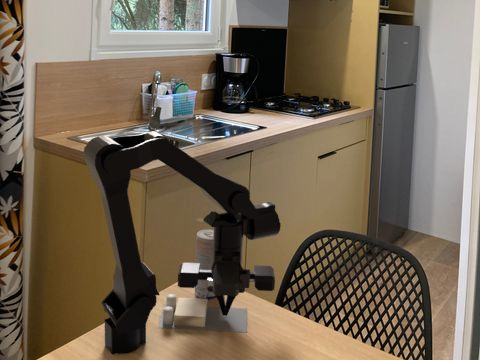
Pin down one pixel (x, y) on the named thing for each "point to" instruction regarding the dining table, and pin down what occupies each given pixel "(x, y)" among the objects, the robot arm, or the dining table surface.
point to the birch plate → (190, 312)
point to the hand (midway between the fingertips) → (225, 314)
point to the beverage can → (204, 261)
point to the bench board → (214, 318)
